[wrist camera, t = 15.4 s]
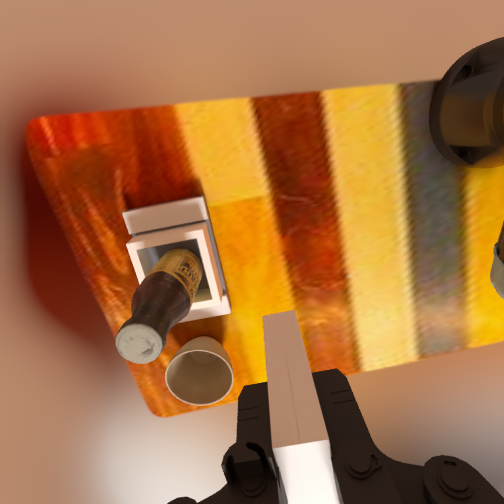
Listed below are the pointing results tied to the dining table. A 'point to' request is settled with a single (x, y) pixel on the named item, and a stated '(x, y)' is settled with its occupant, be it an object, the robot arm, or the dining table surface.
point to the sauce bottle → (160, 305)
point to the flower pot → (200, 372)
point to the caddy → (185, 236)
